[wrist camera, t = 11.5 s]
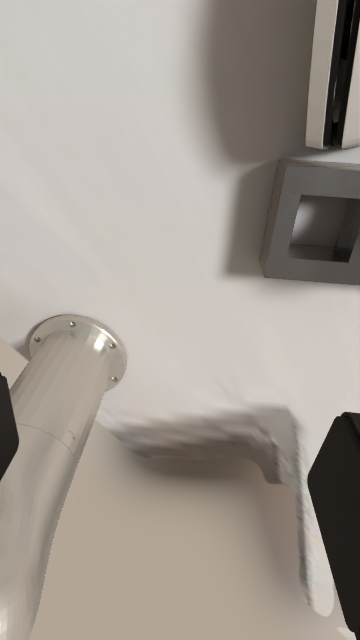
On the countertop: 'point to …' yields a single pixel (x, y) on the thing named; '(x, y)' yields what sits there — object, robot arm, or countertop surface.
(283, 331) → the countertop surface
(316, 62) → the hinge
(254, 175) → the countertop surface
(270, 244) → the rail
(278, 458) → the countertop surface
